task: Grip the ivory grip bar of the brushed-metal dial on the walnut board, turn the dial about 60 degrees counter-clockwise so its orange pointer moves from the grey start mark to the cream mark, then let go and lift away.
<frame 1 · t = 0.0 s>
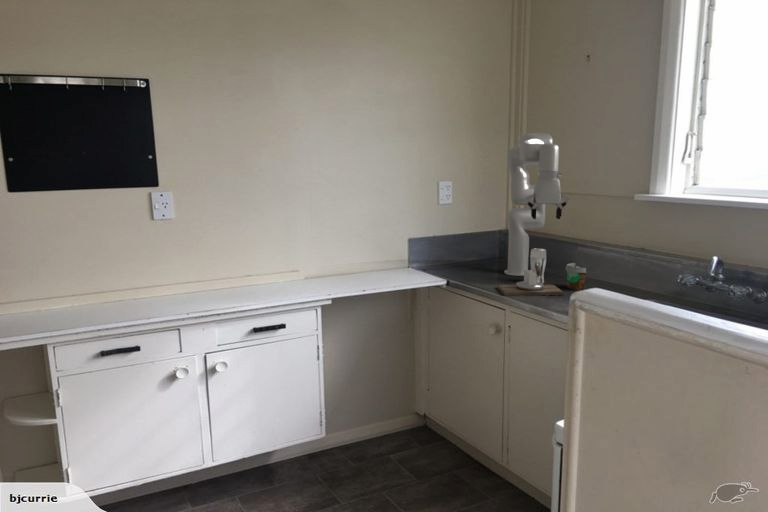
hand: (546, 218, 245), 31 cm above the worktop, tool pointing down, fingers open, 9 cm apart
beer glass: (537, 283, 274), on the worktop
dial: (530, 279, 255), point 5 cm above the worktop, hinge at 0.0°
food container: (572, 288, 262), on the worktop
dial board: (529, 291, 255), on the worktop
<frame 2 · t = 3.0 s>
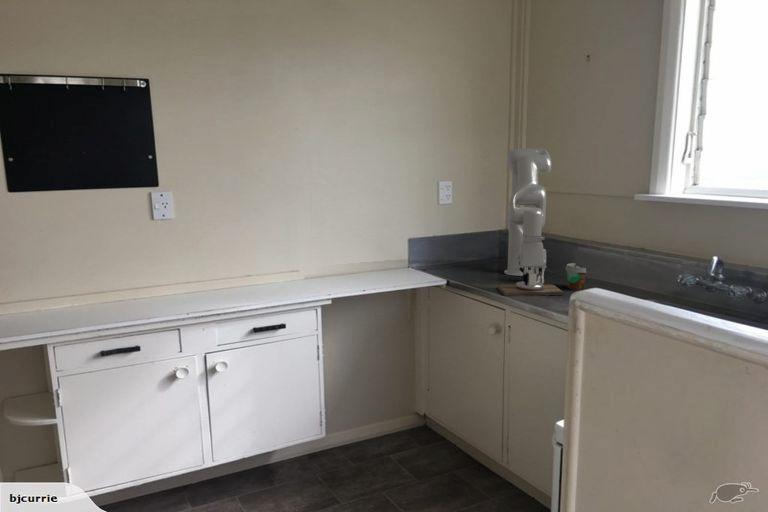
hand: (529, 282, 255), 4 cm above the worktop, tool pointing down, fingers closed on dial, 3 cm apart
dial: (530, 279, 255), point 5 cm above the worktop, hinge at 0.0°, touching gripper
everything else where it was.
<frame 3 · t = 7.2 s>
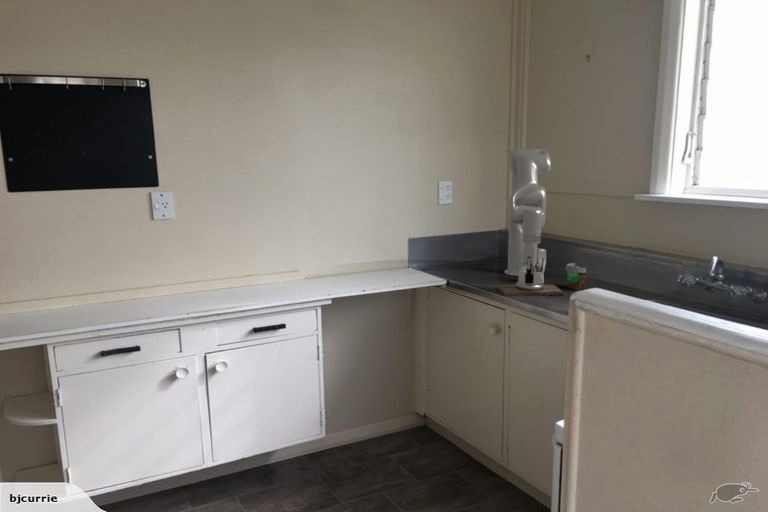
hand: (529, 281, 255), 4 cm above the worktop, tool pointing down, fingers closed on dial, 3 cm apart
dial: (530, 279, 255), point 5 cm above the worktop, hinge at 64.5°, touching gripper
everything else where it was.
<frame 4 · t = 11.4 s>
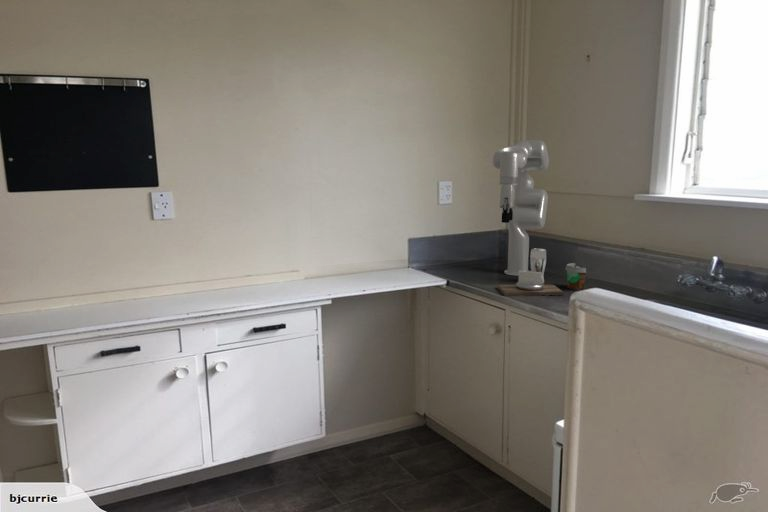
hand: (507, 221, 262), 28 cm above the worktop, tool pointing down, fingers open, 9 cm apart
dial: (530, 279, 255), point 5 cm above the worktop, hinge at 66.1°
everything else where it was.
at the end: dial at +66° (first picture: +0°); beer glass moved 0.2 cm from its start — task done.
